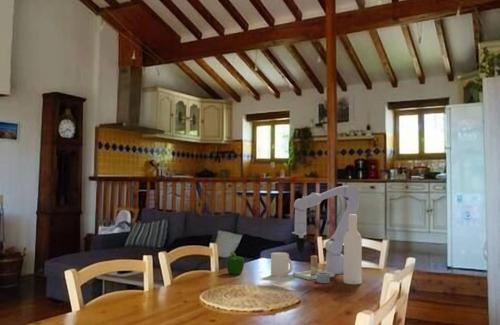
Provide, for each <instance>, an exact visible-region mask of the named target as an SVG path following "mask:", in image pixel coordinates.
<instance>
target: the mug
mask: <svg viewBox="0 0 500 325" xmlns="http://www.w3.org/2000/svg"><path fill="white" fill-rule="evenodd" d="M293 265H294V264H293V261H292V260H291V258H290V255H289V252H288V253H287V252H278V251H277V252H276V251H275V252H272V253H270V275H271V276H272V277H273V278H274V277H275V278H277V277H280V278H281V277H288V276H289V275H290V274H291V273H292V271H293V267H294V266H293Z"/></svg>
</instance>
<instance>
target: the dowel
mask: <svg viewBox="0 0 500 325" xmlns="http://www.w3.org/2000/svg"><path fill="white" fill-rule="evenodd" d="M317 270H318V255H310V271H311V276H316V275H317Z"/></svg>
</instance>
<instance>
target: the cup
mask: <svg viewBox="0 0 500 325" xmlns="http://www.w3.org/2000/svg"><path fill="white" fill-rule="evenodd" d="M330 278H331V277H330V274H329V273H321V272H320V273H317V279H316V282H317V283H320V284H328V283H329V284H330V280H331V279H330Z"/></svg>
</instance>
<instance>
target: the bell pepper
mask: <svg viewBox="0 0 500 325" xmlns="http://www.w3.org/2000/svg"><path fill="white" fill-rule="evenodd" d="M230 255H231V256H227V257H226V259H225V264H226V265H225V266H226V270H227V272H228V274H231V275H239V274H242V273H243V270H244V264H245V259H244V257H243V256H240V255H239V256H238V255H236V253H235V252H230ZM232 255H233V256H232Z"/></svg>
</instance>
